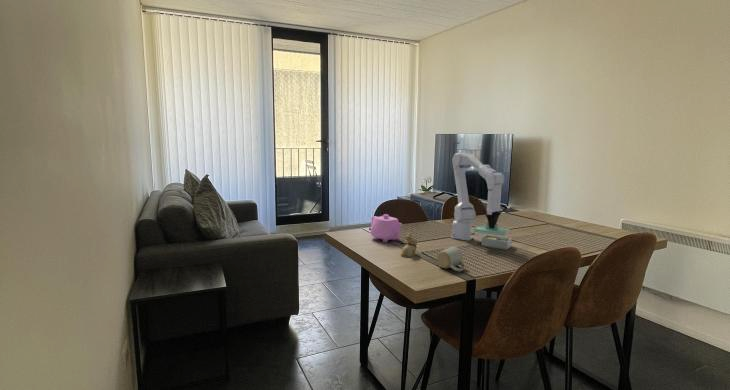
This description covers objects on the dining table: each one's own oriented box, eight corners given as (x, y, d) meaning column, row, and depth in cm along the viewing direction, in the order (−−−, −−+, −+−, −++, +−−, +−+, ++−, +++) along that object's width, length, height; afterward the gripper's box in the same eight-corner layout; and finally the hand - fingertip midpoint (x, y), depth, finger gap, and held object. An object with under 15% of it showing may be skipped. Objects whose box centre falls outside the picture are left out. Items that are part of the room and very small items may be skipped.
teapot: (363, 237, 200) (363, 213, 199) (380, 233, 209) (381, 210, 207) (391, 246, 186) (392, 219, 184) (408, 241, 194) (409, 216, 192)
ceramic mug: (434, 266, 158) (435, 247, 156) (447, 262, 163) (448, 244, 162) (456, 274, 150) (457, 254, 148) (469, 269, 155) (470, 251, 154)
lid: (474, 231, 183) (474, 223, 182) (480, 228, 191) (480, 220, 191) (504, 235, 176) (505, 227, 175) (509, 231, 184) (510, 223, 183)
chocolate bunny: (419, 256, 171) (420, 233, 169) (402, 256, 169) (402, 234, 168) (415, 252, 176) (416, 230, 175) (398, 253, 175) (399, 231, 173)
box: (481, 246, 189) (481, 237, 189) (486, 242, 196) (486, 234, 195) (507, 250, 183) (507, 242, 182) (511, 246, 189) (511, 238, 189)
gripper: (499, 201, 173) (497, 231, 175) (506, 197, 185) (504, 226, 187) (483, 200, 177) (481, 229, 179) (491, 196, 189) (489, 224, 191)
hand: (492, 227), depth 183 cm, fingers closed on lid, 2 cm apart
